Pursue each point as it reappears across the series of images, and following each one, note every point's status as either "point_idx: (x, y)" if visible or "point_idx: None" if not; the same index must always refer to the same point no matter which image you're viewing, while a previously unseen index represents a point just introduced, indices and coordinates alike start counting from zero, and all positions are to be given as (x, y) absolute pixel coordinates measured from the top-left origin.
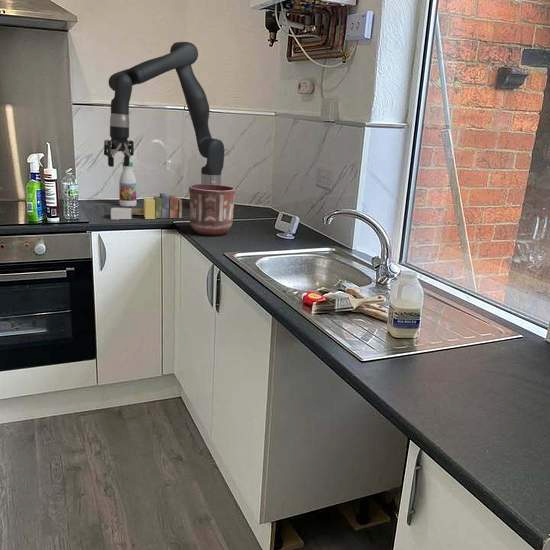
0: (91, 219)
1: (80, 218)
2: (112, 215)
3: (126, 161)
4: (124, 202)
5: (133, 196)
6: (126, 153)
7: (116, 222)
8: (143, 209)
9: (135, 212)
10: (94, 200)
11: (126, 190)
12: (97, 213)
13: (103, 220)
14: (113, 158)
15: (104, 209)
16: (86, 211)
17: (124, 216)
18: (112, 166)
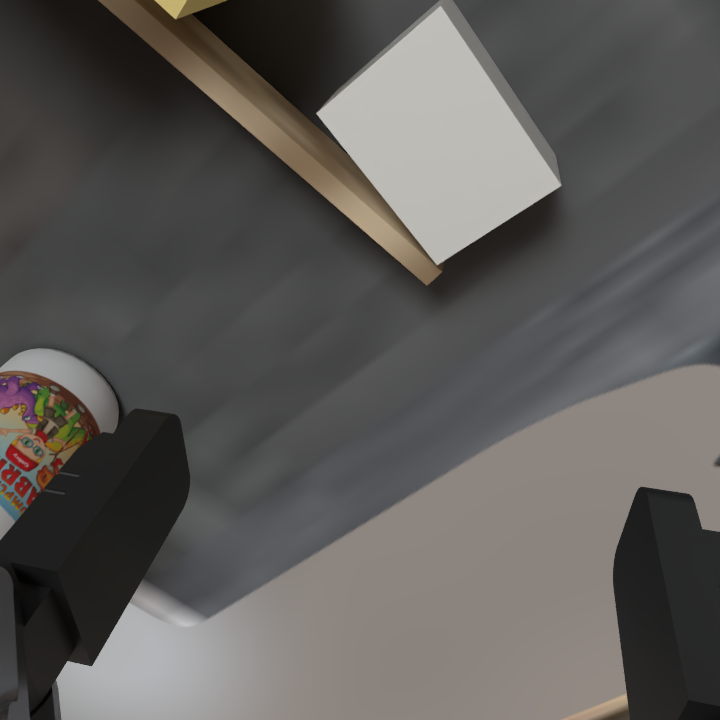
0: (670, 267)
1: (685, 349)
2: (548, 156)
3: (131, 513)
4: (99, 404)
5: (9, 392)
6: (28, 708)
7: (660, 3)
8: (193, 48)
9: (270, 101)
10: (155, 588)
11: (33, 456)
12: (436, 374)
13: (647, 167)
14: (696, 674)
15: (291, 420)
16: (435, 458)
17: (484, 53)
18: (677, 492)
